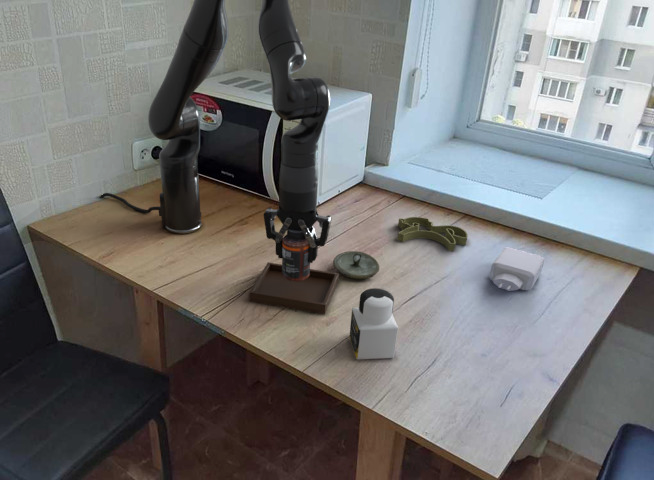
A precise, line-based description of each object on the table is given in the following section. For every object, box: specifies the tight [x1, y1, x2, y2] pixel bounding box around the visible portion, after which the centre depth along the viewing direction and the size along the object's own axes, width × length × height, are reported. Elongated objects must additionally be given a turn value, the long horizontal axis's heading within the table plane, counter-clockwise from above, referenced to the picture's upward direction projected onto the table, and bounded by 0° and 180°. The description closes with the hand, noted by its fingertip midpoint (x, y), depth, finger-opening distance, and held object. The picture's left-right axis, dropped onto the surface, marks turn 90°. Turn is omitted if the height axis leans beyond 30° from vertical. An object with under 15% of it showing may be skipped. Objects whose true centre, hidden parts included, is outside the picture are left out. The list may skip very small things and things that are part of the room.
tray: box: [248, 262, 340, 315], centre depth 132 cm, size 16×13×2 cm
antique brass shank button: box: [332, 250, 380, 280], centre depth 139 cm, size 11×10×5 cm
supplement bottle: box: [281, 229, 311, 281], centre depth 127 cm, size 6×6×11 cm
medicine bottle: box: [348, 287, 399, 361], centre depth 112 cm, size 7×7×12 cm
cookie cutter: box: [397, 216, 468, 252], centre depth 155 cm, size 18×12×2 cm, turn 66°
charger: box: [488, 247, 545, 292], centre depth 135 cm, size 5×9×15 cm
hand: (296, 258), depth 128 cm, fingers closed on supplement bottle, 6 cm apart
